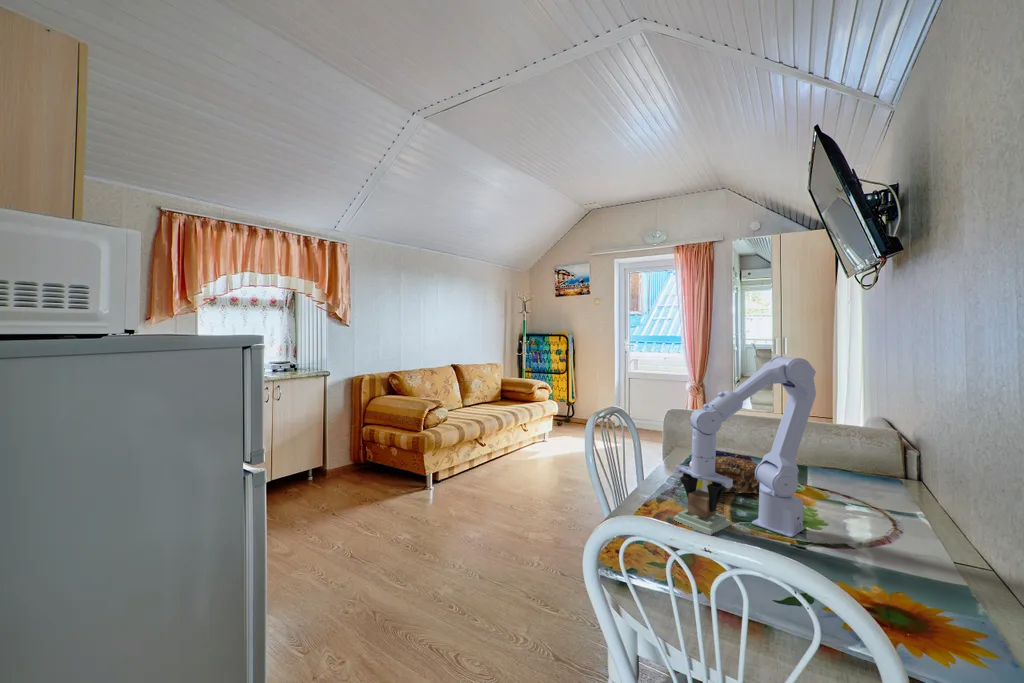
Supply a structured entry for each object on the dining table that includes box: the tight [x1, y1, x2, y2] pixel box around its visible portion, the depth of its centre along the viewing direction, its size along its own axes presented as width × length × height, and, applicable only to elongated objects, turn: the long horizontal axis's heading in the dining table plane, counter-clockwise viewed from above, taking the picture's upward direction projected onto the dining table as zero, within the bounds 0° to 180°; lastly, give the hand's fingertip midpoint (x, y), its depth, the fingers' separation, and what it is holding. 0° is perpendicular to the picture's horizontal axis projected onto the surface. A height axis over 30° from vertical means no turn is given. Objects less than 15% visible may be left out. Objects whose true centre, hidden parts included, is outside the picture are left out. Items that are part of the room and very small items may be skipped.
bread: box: [715, 455, 760, 495], centre depth 140 cm, size 19×11×10 cm, turn 81°
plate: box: [673, 508, 731, 536], centre depth 114 cm, size 10×10×2 cm
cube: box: [687, 490, 717, 519], centre depth 114 cm, size 5×5×5 cm
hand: (702, 507), depth 114 cm, fingers closed on cube, 5 cm apart
